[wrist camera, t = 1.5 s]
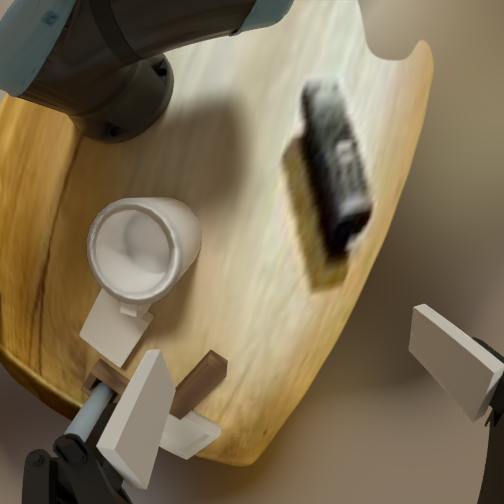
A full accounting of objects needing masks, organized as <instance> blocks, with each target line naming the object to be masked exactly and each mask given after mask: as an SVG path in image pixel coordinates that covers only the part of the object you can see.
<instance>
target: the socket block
mask: <svg viewBox="0 0 504 504" xmlns="http://www.w3.org/2000/svg"><path fill="white" fill-rule="evenodd" d="M97 379H99V380H101V381H102V382H103V383H105V384H106V385H107V386H109V387H110V388H111V389H113V390H114V391H116V392H117V393H118V394H117V396H115V395H114V394H113V395H112V397H111V399H110V400H109V402H108V404H107V405H106V407H107V406H108V405H109V404H110V403H119V401H120V399H121V397H122V395H123V393H124V391H125V389H126V388H127V386H128V384H129V382H130V380H128V379H127V378H125V377H124V376H123V375H121V374H120V373H119V372H117V371H116V370H115V369H113V368H112V367H111V366H109V365H108V364H107V363H106V362H104V361H103V360H102V359H100V360H99V361H98V362H97V363H96V365H95V366H94V367H93V368H92V370H91V372H90V374H89V376H88V377H87V379H86V381H85V383H84V385H83V387H82V389H81V390H82V391H84V392H85V393H86V394H87V395H89V396H90V395H91V393H92V392H93V391H94V389H95V388H96V386H97V385H98V384H99V383H98V382H97V381H96V380H97ZM106 407H105V408H106Z"/></svg>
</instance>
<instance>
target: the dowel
mask: <svg viewBox="0 0 504 504" xmlns="http://www.w3.org/2000/svg"><path fill="white" fill-rule="evenodd" d="M114 392H115V391H114V390H113V389H111V388H110V387H109V386H107V385H106V384H105V383H103V382H102V381H100V382H99V384H98V385H97V386H96V388H95V389H94V391H93V392H92V393H91V395H90V396H89V398H88V399H87V401H86V402H85V403H84V405H83V406H82V408H81V409H80V411H79V412H78V414H77V415H76V417H75V418H74V420H73V421H72V423H71V424H70V426H69V427H68V429H67V430H66V432H65V433H64V434H68V433H73V434H77V435H78V436H80V437H81V439H82V440H83V441H84V443H85V441H86V439H87V438H88V436H89V434H90V432H91V431H92V429H93V427H94V425H95V424H96V422H97V420H98V419H99V417H100V415H101V413H102V411H103V410H104V409H105V407H106V405H107V404H108V402H109V400H110V399H111V397H112V395H113V394H114Z"/></svg>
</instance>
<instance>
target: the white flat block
mask: <svg viewBox="0 0 504 504" xmlns="http://www.w3.org/2000/svg"><path fill="white" fill-rule="evenodd" d="M120 303H121V301H119V300H117V299H115V298H113V297H112V296H111V295H109V294H108V293H107V292H106V291H105V290H104V289H103V288H102V289H101V291H100V293H99V295H98V297H97V299H96V301H95V303H94V305H93V307H92V309H91V311H90V313H89V315H88V317H87V319H86V321H85V323H84V326H83V328H82V330H81V332H80V334H79V336H80V337H81V338H83V339H84V340H85V341H86V342H87V343H89V344H90V345H91V346H92V347H93V348H95V349H96V350H97V351H98V352H100V353H101V354H102V355H104V356H105V357H106V358H107V359H109V360H110V361H111V362H113V363H114V364H115V365H117V366H118V367H119V368H121V366H122V365H123V363H124V362H125V360H126V359H127V357H128V356H129V354H130V353H131V351H132V350H133V348H134V347H135V345H136V344H137V342H138V341H139V339H140V338H141V336H142V335H143V333H144V332H145V330H146V329H147V327H148V326H149V324H150V323H151V321H152V320H153V318H154V317H155V316H153V315H152V314H151V313H149V312H148V311H147V312H146V313H145V314H144V315H143V317H142V318H141V317H134V316H130V315H127V314H124V313H120Z"/></svg>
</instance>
